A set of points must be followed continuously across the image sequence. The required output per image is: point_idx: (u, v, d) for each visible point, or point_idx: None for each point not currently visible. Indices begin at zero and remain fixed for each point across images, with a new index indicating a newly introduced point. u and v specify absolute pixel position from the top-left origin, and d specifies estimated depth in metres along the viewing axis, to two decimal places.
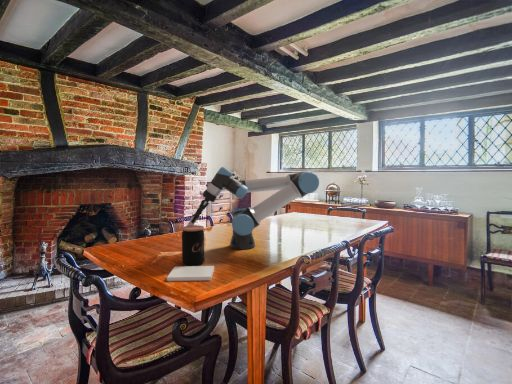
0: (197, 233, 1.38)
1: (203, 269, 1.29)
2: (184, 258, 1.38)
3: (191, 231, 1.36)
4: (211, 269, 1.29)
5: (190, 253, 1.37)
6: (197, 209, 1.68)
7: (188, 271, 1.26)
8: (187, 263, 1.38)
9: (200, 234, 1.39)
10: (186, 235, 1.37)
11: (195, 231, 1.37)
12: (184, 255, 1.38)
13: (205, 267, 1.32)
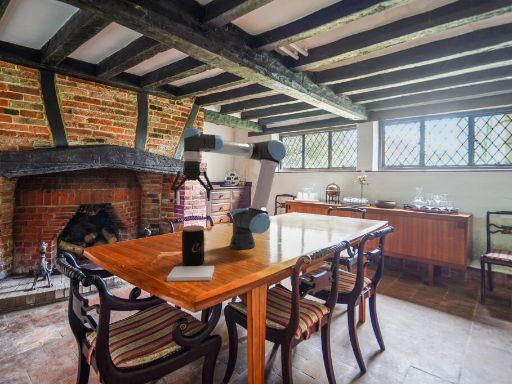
0: (197, 233, 1.38)
1: (203, 269, 1.29)
2: (184, 258, 1.38)
3: (191, 231, 1.36)
4: (211, 269, 1.29)
5: (190, 253, 1.37)
6: (172, 189, 1.39)
7: (188, 271, 1.26)
8: (187, 263, 1.38)
9: (200, 234, 1.39)
10: (186, 235, 1.37)
11: (195, 231, 1.37)
12: (184, 255, 1.38)
13: (205, 267, 1.32)
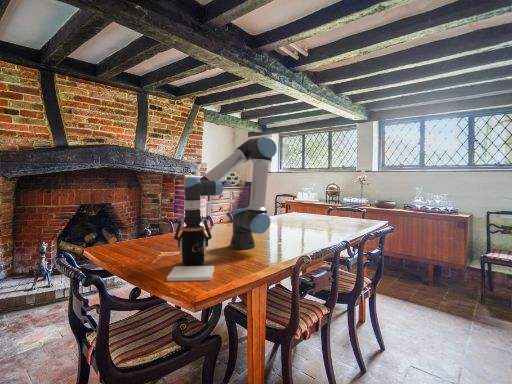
0: (197, 233, 1.38)
1: (203, 269, 1.29)
2: (184, 258, 1.38)
3: (191, 231, 1.36)
4: (211, 269, 1.29)
5: (190, 253, 1.37)
6: (175, 238, 1.40)
7: (188, 271, 1.26)
8: (187, 263, 1.37)
9: (200, 234, 1.38)
10: (186, 235, 1.37)
11: (195, 231, 1.37)
12: (184, 255, 1.38)
13: (205, 267, 1.32)
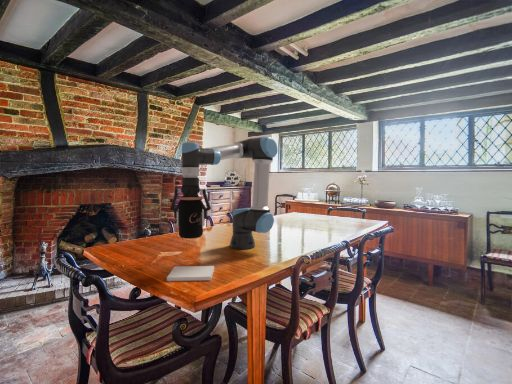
0: (195, 202, 1.27)
1: (203, 269, 1.29)
2: (181, 229, 1.28)
3: (188, 200, 1.26)
4: (211, 269, 1.29)
5: (187, 224, 1.27)
6: (172, 209, 1.30)
7: (188, 271, 1.26)
8: (184, 235, 1.27)
9: (198, 204, 1.28)
10: (183, 204, 1.26)
11: (193, 200, 1.27)
12: (181, 226, 1.28)
13: (205, 267, 1.32)
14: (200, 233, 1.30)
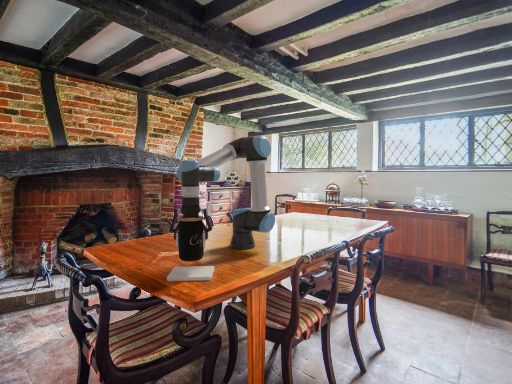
0: (196, 223, 1.21)
1: (203, 269, 1.29)
2: (181, 252, 1.22)
3: (189, 221, 1.20)
4: (211, 269, 1.29)
5: (187, 246, 1.20)
6: (171, 230, 1.24)
7: (188, 271, 1.26)
8: (184, 258, 1.21)
9: (199, 225, 1.22)
10: (183, 225, 1.20)
11: (193, 221, 1.21)
12: (181, 248, 1.22)
13: (205, 267, 1.32)
14: (201, 255, 1.24)
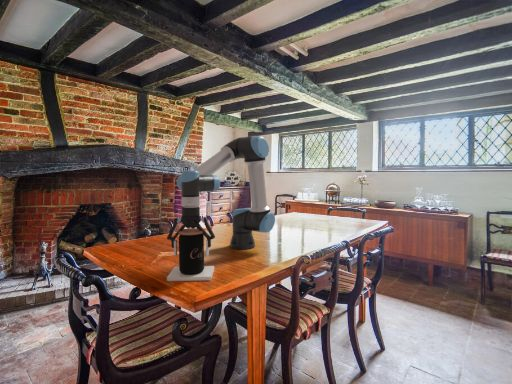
0: (196, 237, 1.22)
1: None
2: (181, 265, 1.22)
3: (189, 235, 1.21)
4: (211, 269, 1.29)
5: (188, 260, 1.21)
6: (168, 238, 1.24)
7: None
8: (185, 271, 1.22)
9: (199, 238, 1.23)
10: (184, 239, 1.21)
11: (194, 235, 1.21)
12: (181, 262, 1.22)
13: (205, 267, 1.32)
14: (202, 268, 1.24)
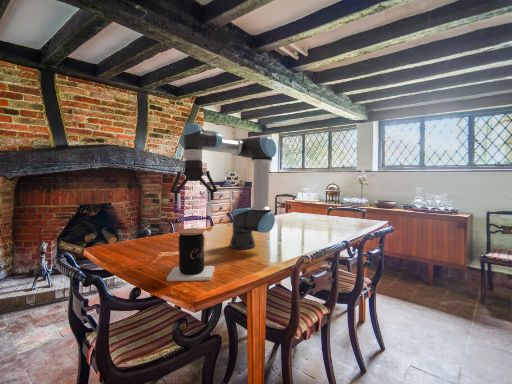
0: (196, 237, 1.22)
1: None
2: (181, 265, 1.22)
3: (189, 235, 1.21)
4: (211, 269, 1.29)
5: (188, 260, 1.21)
6: (172, 191, 1.26)
7: None
8: (185, 271, 1.22)
9: (199, 238, 1.23)
10: (184, 239, 1.21)
11: (194, 235, 1.21)
12: (181, 262, 1.22)
13: (205, 267, 1.32)
14: (202, 268, 1.24)
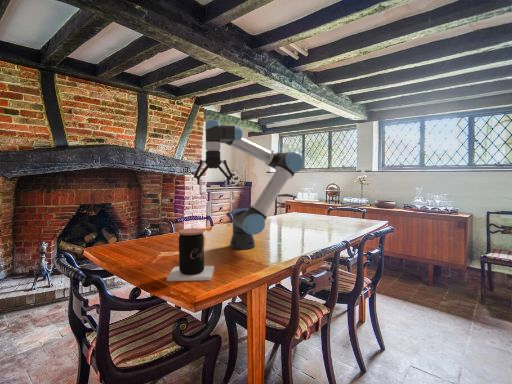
0: (196, 237, 1.22)
1: None
2: (181, 265, 1.22)
3: (189, 235, 1.21)
4: (211, 269, 1.29)
5: (188, 260, 1.21)
6: (195, 176, 1.51)
7: None
8: (185, 271, 1.22)
9: (199, 238, 1.23)
10: (184, 239, 1.21)
11: (194, 235, 1.21)
12: (181, 262, 1.22)
13: (205, 267, 1.32)
14: (202, 268, 1.24)
